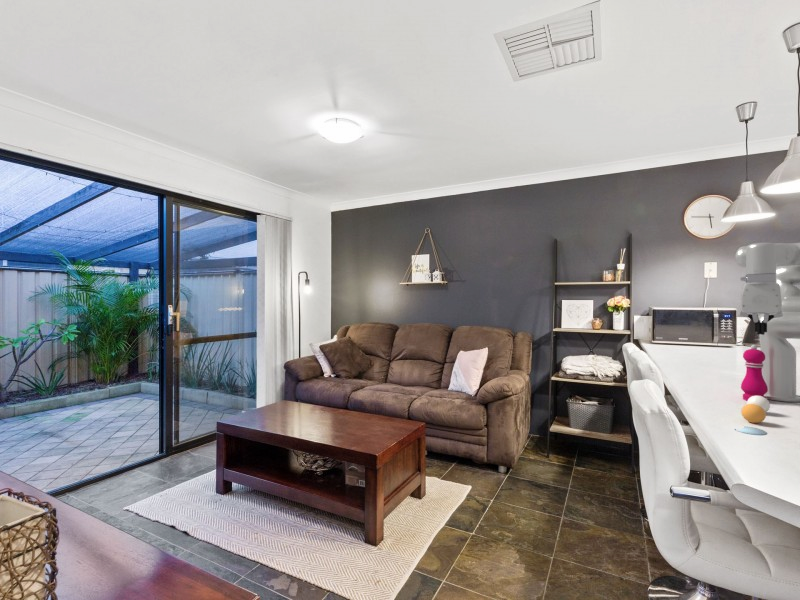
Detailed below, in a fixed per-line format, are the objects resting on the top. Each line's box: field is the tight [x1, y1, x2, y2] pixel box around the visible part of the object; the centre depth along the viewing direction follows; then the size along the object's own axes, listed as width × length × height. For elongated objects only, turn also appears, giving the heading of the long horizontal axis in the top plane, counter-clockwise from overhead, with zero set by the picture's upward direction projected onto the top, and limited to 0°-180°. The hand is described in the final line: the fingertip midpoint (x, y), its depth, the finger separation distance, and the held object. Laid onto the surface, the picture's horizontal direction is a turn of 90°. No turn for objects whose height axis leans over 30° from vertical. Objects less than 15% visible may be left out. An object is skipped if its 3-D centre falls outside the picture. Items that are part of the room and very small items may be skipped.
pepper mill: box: [740, 344, 768, 402], centre depth 144 cm, size 7×7×20 cm
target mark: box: [735, 425, 767, 436], centre depth 112 cm, size 7×7×1 cm
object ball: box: [740, 404, 767, 424], centre depth 119 cm, size 6×6×6 cm
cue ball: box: [746, 396, 771, 413], centre depth 129 cm, size 6×6×6 cm
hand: (760, 334), depth 135 cm, fingers closed
